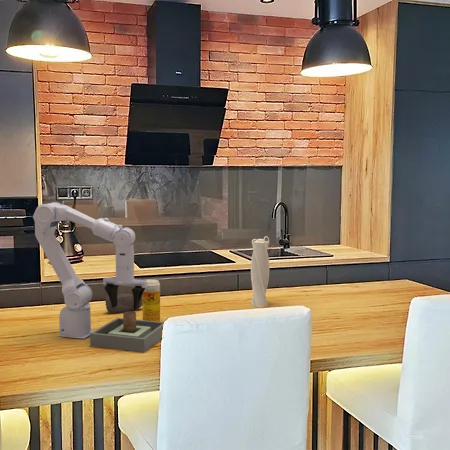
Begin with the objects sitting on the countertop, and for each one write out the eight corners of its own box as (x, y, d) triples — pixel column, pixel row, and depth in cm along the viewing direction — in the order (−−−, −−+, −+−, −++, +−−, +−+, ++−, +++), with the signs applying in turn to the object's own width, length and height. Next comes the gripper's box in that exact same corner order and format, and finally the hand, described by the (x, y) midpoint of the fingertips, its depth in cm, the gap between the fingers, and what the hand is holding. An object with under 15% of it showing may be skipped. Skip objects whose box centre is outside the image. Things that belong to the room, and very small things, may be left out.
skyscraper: (272, 307, 216) (274, 236, 212) (255, 309, 213) (256, 237, 210) (263, 302, 223) (265, 233, 220) (247, 304, 220) (248, 234, 217)
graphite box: (90, 346, 168) (89, 333, 168) (117, 329, 186) (117, 317, 185) (144, 352, 163) (144, 339, 163) (167, 334, 181) (167, 322, 180)
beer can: (143, 326, 189) (143, 283, 187) (141, 321, 195) (141, 279, 193) (161, 325, 191) (161, 282, 189) (158, 320, 197) (158, 278, 195)
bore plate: (108, 340, 171) (108, 333, 171) (122, 331, 181) (122, 324, 180) (137, 344, 168) (137, 336, 168) (151, 334, 178) (151, 326, 177)
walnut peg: (121, 338, 173) (120, 314, 172) (127, 335, 177) (126, 310, 176) (132, 340, 172) (132, 315, 171) (138, 336, 176) (138, 311, 175)
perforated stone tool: (141, 307, 213) (141, 290, 212) (145, 311, 209) (145, 293, 208) (102, 311, 207) (102, 293, 206) (106, 315, 202) (105, 296, 202)
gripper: (98, 267, 174) (98, 309, 175) (140, 269, 170) (140, 313, 171) (108, 263, 180) (109, 303, 182) (149, 265, 176) (150, 307, 178)
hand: (125, 307), depth 177 cm, fingers open, 7 cm apart
